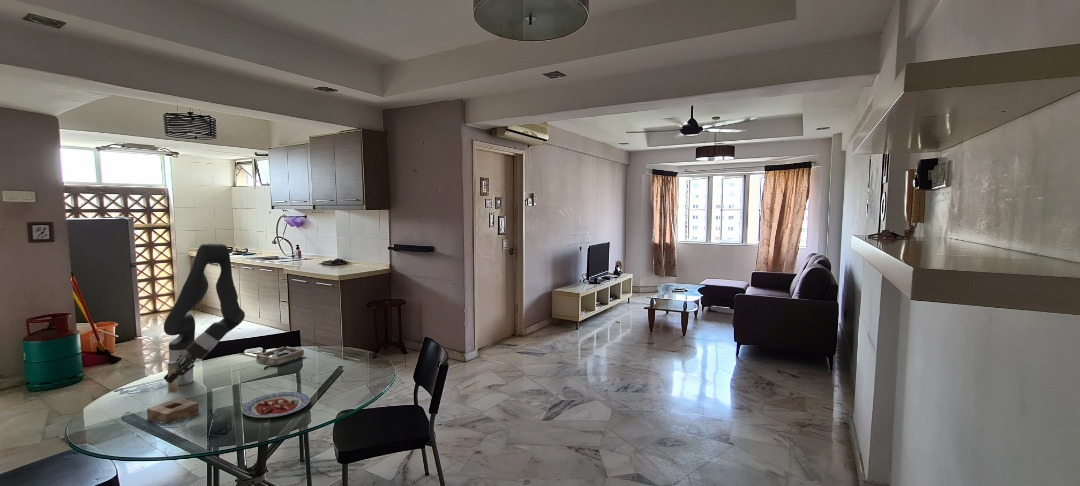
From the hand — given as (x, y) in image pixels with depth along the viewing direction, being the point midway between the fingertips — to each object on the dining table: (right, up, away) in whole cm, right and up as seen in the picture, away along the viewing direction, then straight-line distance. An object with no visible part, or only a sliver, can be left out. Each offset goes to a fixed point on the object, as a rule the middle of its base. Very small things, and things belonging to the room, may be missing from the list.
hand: (166, 380), depth 187 cm
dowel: (+1, -5, +2) cm, 5 cm away
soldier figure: (+2, -11, +72) cm, 73 cm away
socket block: (0, -15, +3) cm, 15 cm away
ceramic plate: (+36, -17, +14) cm, 43 cm away
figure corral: (+4, -10, +75) cm, 75 cm away
